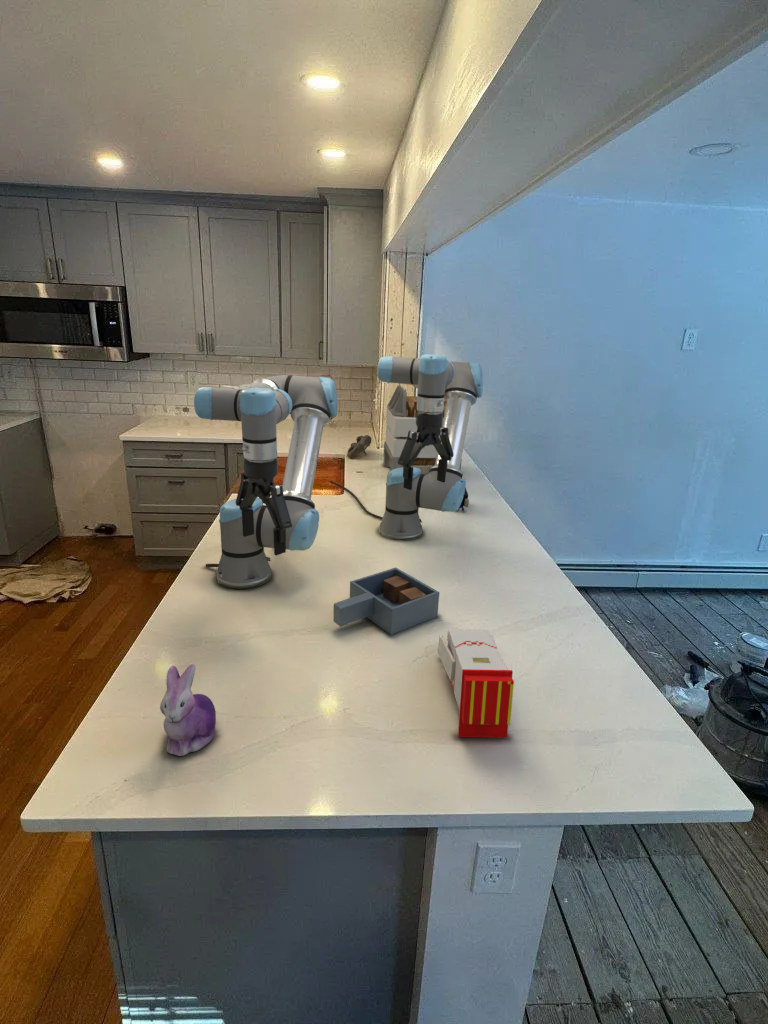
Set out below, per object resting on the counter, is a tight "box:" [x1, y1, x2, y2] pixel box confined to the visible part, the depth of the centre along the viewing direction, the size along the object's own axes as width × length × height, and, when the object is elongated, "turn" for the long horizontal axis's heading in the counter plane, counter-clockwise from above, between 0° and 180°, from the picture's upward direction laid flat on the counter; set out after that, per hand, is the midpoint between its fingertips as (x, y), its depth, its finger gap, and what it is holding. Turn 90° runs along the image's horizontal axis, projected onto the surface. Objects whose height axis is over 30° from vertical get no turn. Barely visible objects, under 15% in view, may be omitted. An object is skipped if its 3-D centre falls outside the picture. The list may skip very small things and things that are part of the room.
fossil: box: [347, 434, 372, 459], centre depth 303 cm, size 22×10×15 cm
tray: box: [333, 566, 441, 635], centre depth 145 cm, size 18×26×7 cm
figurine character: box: [455, 487, 470, 512], centre depth 229 cm, size 7×8×15 cm
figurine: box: [159, 663, 217, 757], centre depth 100 cm, size 9×10×15 cm
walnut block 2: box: [399, 587, 426, 605], centre depth 147 cm, size 5×5×5 cm
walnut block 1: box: [383, 575, 410, 604], centre depth 153 cm, size 5×5×5 cm
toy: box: [437, 628, 515, 738], centre depth 117 cm, size 12×13×30 cm
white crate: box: [383, 384, 463, 472], centre depth 268 cm, size 34×33×41 cm
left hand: (263, 544), depth 136 cm, fingers open, 13 cm apart
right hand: (424, 484), depth 165 cm, fingers open, 13 cm apart
